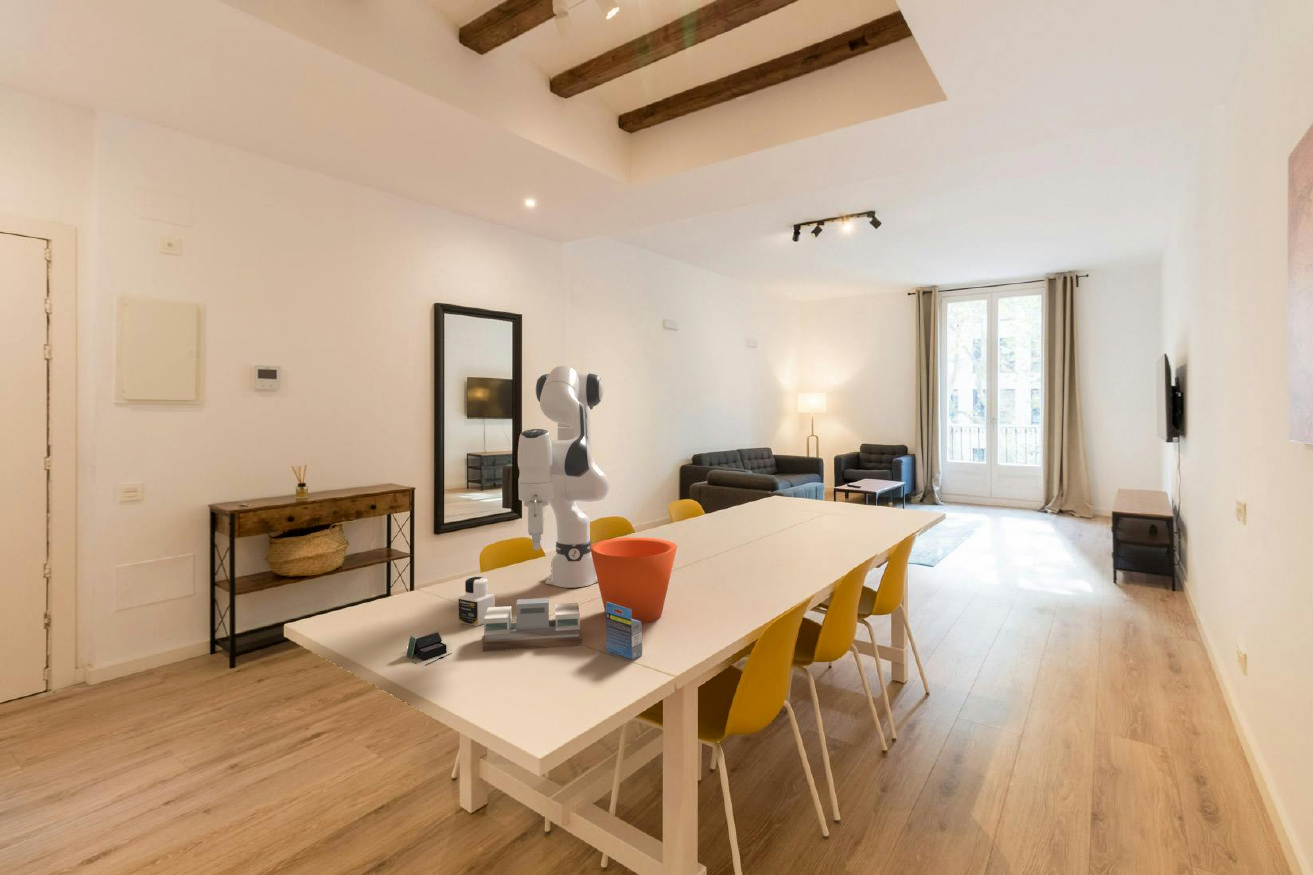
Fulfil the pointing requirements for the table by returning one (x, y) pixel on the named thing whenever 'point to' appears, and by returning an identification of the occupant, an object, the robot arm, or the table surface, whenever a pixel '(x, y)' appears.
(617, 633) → the label tape box
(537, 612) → the block
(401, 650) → the table surface
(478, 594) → the medicine bottle
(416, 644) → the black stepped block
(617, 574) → the flowerpot
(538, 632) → the rail board
